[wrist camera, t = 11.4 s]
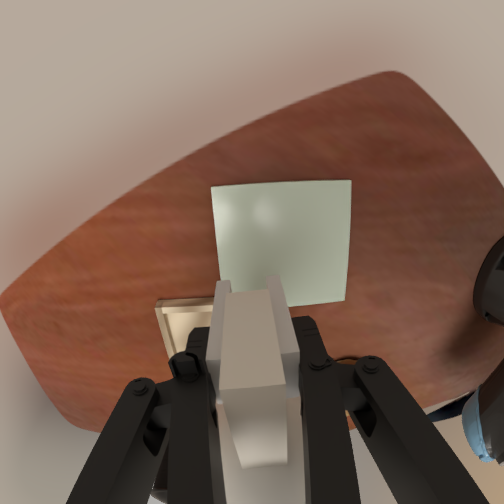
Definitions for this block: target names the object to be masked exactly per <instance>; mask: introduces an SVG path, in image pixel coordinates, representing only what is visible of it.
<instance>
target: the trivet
mask: <svg viewBox="0 0 504 504" xmlns="http://www.w3.org/2000/svg"><path fill="white" fill-rule="evenodd" d="M211 193H212V203H213V213H214V223H215V232H216V242H217V251H218V260H219V268H220V277H221V281H222V280H230V282H231V289H232V293H233V292H243V291H253V290H263V289H267V286H266V276H272V275H279V276H280V280H281V283H282V287H283V291H284V294H285V298H286V302H287V305H288V307H292V306H302V305H311V304H320V303H329V302H337V301H344V300H345V291H346V280H347V268H348V255H349V239H350V218H351V180H304V181H280V182H262V183H247V184H234V185H221V186H211Z"/></svg>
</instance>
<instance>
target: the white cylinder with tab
mask: <svg viewBox="0 0 504 504" xmlns="http://www.w3.org/2000/svg"><path fill="white" fill-rule="evenodd" d="M219 392H220V396H221V399H222V403H223V404H218V403H217V400H216V405H215V406H216V409H217V413H218V424H219V435H220V446H221V457H222V467H223V476H224V485H225V493H226V502H227V504H305V476H304V454H303V435H302V419H301V415H300V409H301V397H300V392H299V397H294V398H286V382H285V377H284V371H283V365H282V360H281V354H280V348H279V343H278V337H277V332H276V326H275V321H274V315H273V310H272V304H271V299H270V293H269V289H263V290H253V291H243V292H233V293H226V299H225V312H224V324H223V337H222V351H221V365H220V379H219Z"/></svg>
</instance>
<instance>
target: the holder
mask: <svg viewBox="0 0 504 504" xmlns="http://www.w3.org/2000/svg"><path fill="white" fill-rule="evenodd" d="M213 303H214V297H207V298H190V299H170V300H158V301H157V304H156V306H155V311H156V315H157V318H158V322H159V326H160V329H161V333H162V336H163V340H164V343H165V347H166V350H167V353H168V356H169V360H170V358H171V357H172V356H173V355H174V354H176V353H178V352H181V351H185V348H186V344H187V340H188V335H189V333H190V332H191V331H192V330H193V328H194V327H209V326H210V323H211V317H212V310H213Z"/></svg>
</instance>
